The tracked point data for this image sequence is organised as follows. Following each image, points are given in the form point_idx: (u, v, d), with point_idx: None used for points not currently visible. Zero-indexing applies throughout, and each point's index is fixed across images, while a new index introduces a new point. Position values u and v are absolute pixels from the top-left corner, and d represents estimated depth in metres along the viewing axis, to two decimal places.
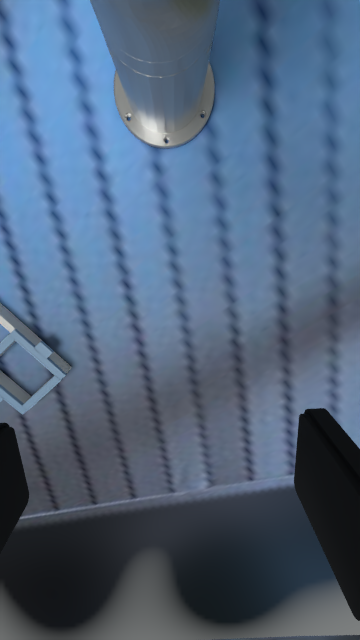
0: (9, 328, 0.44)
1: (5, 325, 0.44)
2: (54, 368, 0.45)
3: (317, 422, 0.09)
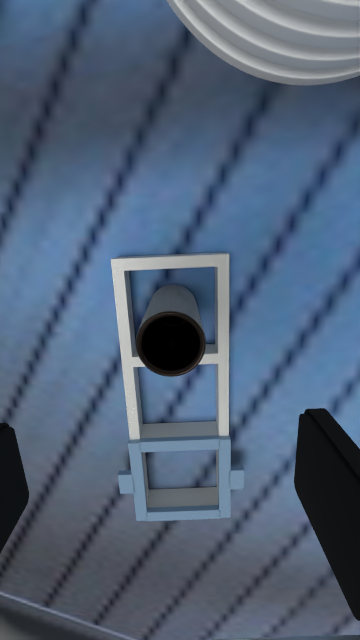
0: (223, 429, 0.30)
1: (222, 424, 0.30)
2: (227, 503, 0.32)
3: (317, 422, 0.09)
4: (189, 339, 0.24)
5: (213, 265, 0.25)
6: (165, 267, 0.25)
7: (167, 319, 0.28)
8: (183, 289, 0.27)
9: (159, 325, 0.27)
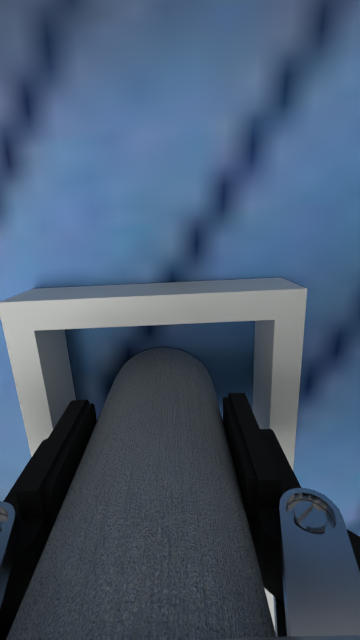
0: None
1: None
2: None
3: (233, 404, 0.10)
4: None
5: (264, 317, 0.10)
6: (141, 322, 0.10)
7: None
8: (186, 369, 0.11)
9: None
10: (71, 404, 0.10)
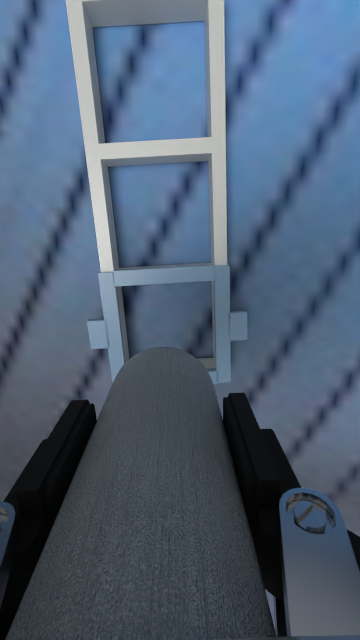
0: (220, 256, 0.23)
1: (218, 247, 0.23)
2: (226, 361, 0.25)
3: (233, 403, 0.10)
4: None
5: None
6: None
7: None
8: (186, 368, 0.11)
9: None
10: (71, 404, 0.10)
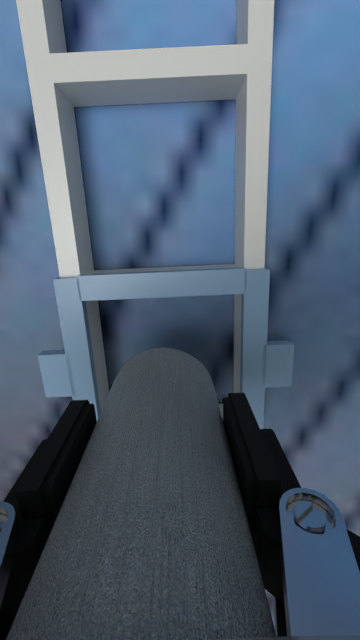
0: (253, 254, 0.14)
1: (251, 240, 0.14)
2: (257, 419, 0.16)
3: (233, 403, 0.10)
4: None
5: None
6: None
7: None
8: (186, 369, 0.11)
9: None
10: (71, 404, 0.10)
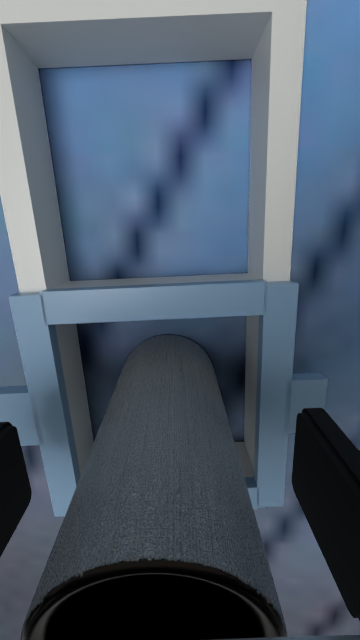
0: (276, 262, 0.11)
1: (273, 243, 0.11)
2: (277, 471, 0.13)
3: (314, 421, 0.09)
4: None
5: None
6: None
7: None
8: (189, 352, 0.12)
9: None
10: None
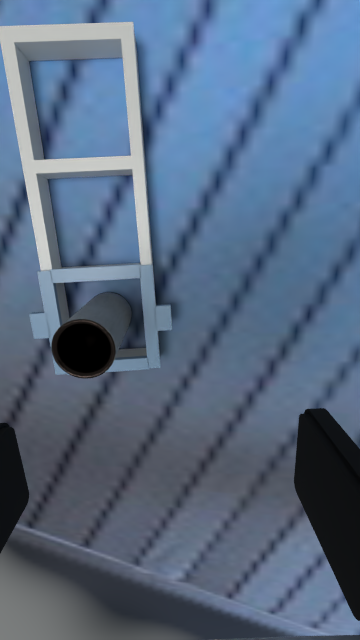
0: (145, 257, 0.27)
1: (143, 249, 0.27)
2: (155, 349, 0.29)
3: (317, 422, 0.09)
4: None
5: (116, 37, 0.23)
6: (61, 38, 0.22)
7: None
8: (114, 297, 0.29)
9: (94, 331, 0.29)
10: None
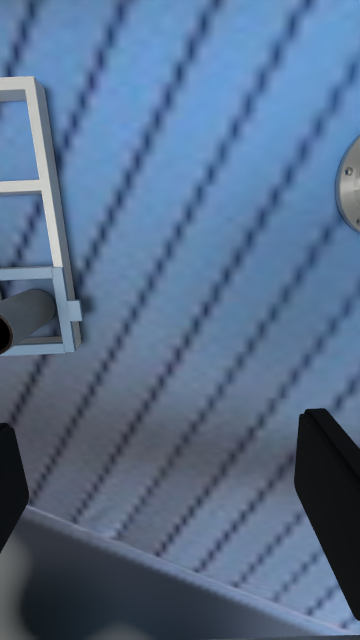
0: (56, 260, 0.33)
1: (54, 254, 0.33)
2: (69, 336, 0.35)
3: (317, 422, 0.09)
4: None
5: (21, 87, 0.29)
6: None
7: None
8: (36, 293, 0.35)
9: None
10: None
